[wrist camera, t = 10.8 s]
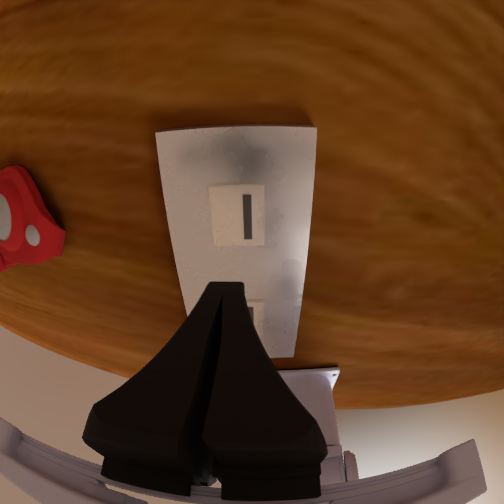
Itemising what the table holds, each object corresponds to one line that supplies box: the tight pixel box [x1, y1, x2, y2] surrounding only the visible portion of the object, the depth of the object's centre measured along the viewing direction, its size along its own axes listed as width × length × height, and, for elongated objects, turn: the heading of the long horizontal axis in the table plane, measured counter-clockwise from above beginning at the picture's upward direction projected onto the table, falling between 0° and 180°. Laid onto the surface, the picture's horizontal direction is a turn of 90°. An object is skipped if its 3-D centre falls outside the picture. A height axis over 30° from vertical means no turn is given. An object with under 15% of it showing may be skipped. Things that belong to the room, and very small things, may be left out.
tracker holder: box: [0, 165, 66, 272], centre depth 18 cm, size 12×4×10 cm
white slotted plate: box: [156, 124, 317, 358], centre depth 20 cm, size 20×9×1 cm, turn 1°
